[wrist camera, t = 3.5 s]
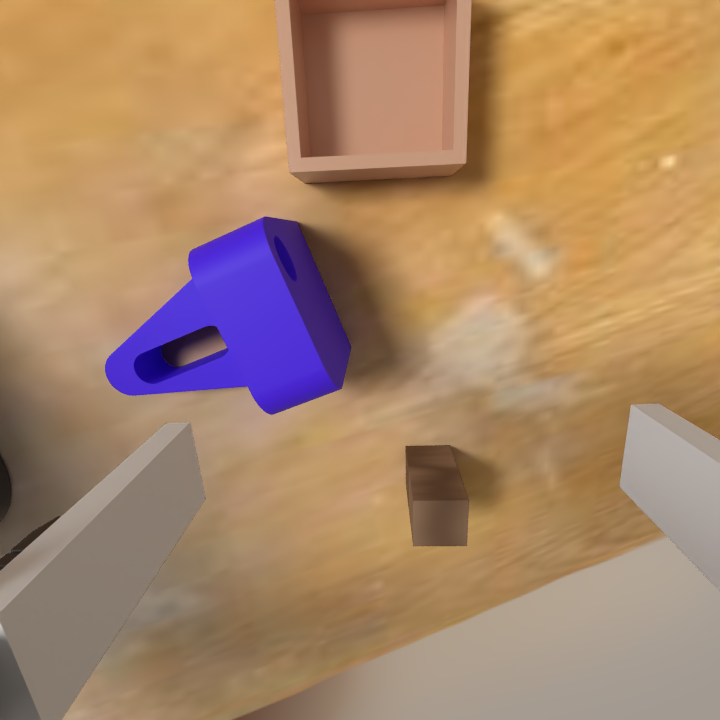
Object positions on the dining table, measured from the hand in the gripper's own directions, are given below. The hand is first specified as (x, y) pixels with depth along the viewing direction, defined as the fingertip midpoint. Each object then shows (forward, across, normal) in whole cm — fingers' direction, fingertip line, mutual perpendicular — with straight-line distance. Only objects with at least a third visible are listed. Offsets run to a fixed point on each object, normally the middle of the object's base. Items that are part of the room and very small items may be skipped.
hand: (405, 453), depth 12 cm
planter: (+22, 0, +16) cm, 27 cm away
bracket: (+22, -14, 0) cm, 26 cm away
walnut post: (+22, +3, -14) cm, 27 cm away
